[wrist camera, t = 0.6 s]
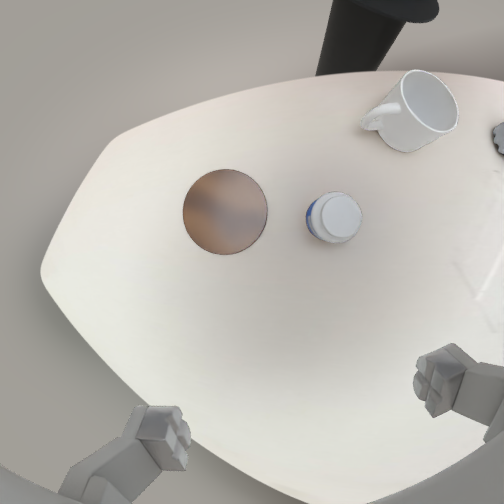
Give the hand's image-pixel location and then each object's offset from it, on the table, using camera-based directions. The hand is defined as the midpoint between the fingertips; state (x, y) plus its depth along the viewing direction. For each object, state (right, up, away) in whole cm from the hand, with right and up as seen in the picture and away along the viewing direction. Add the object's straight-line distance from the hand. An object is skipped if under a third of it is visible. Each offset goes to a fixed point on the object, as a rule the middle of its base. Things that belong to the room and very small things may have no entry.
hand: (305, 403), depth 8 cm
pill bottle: (+8, +9, +27) cm, 29 cm away
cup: (+17, +22, +25) cm, 38 cm away
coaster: (-5, +10, +28) cm, 30 cm away
